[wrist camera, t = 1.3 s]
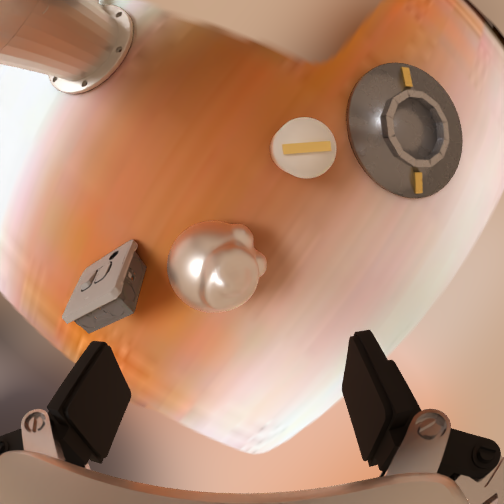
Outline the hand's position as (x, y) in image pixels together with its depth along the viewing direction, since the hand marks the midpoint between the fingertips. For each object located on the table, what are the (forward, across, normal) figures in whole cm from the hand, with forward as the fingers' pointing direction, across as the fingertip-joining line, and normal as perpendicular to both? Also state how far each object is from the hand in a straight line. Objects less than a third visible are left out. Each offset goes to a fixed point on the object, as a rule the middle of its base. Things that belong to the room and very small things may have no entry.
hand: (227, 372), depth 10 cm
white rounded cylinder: (+22, -6, -8) cm, 24 cm away
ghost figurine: (+22, +3, +3) cm, 22 cm away
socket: (+22, -20, -10) cm, 31 cm away
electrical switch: (+22, +16, +4) cm, 27 cm away
